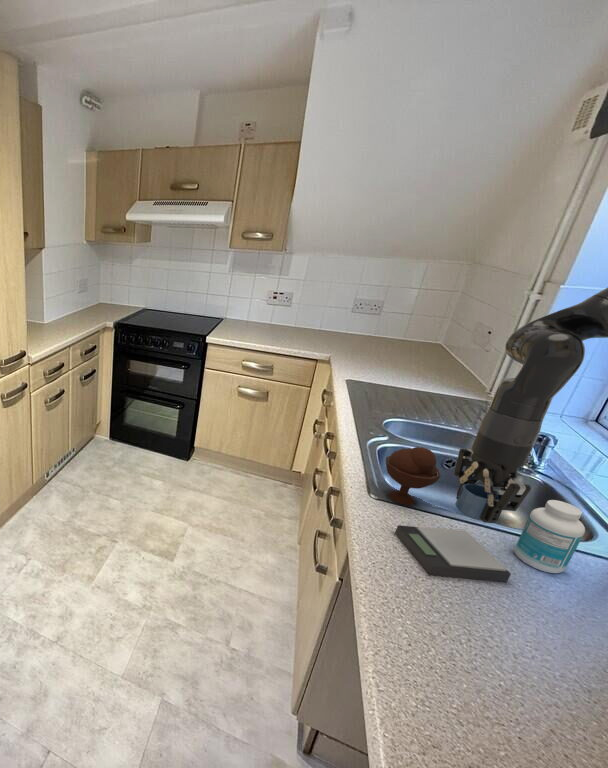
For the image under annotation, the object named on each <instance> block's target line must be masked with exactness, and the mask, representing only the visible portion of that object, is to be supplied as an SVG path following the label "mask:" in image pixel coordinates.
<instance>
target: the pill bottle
mask: <svg viewBox="0 0 608 768" xmlns="http://www.w3.org/2000/svg"><path fill="white" fill-rule="evenodd" d="M582 514H583V511H582V510H581V509H579V507H577V506H575V505H573V504H570V503H568V502H566V501H561V500H558V499H557V500H556V499H549V500H547V501H546V503H545V505H544V507H537V508H534V509H532V511H531V512H530V514H529V516H528V518H527V520H526V522H525V524H524V527H523V528H522V531H521V533H520V536H519V538H518V540H517V542H516V544H515V546H514V553H515V555H516V557H518V558H519V560H521V561H522V562H524V563H525V564H526V565H528V566H530V567H532V568H534V569H536V570H539V571H541V572H545V573H550V574H561V573H563V572H564V571H566V569H567V567H568V565H569V563H570V561H571V559H572V557H573V556H574V554H575V552H576V550H577V548H578V546H579V544H580V542H581V541H582V539H583V536H584V535H585V532H586V527H585V526H584V523H583V522H582V521H580V519H581V517H582V516H583V515H582Z"/></svg>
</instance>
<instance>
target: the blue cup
mask: <svg viewBox="0 0 608 768" xmlns="http://www.w3.org/2000/svg"><path fill="white" fill-rule="evenodd" d="M496 500H497V501H499V495H498V494H497V495H496ZM486 504H488V497H487V493H486V492H485V485H483V484H479V483H477V484H473V483H466V484H464V485H463V486H462V488H461V491H460V493H459V496H458V498H457V499H456V500H455V504H454V505H455V508H457V510H458V511H459V513H461V514H462V515H464V516H466V517H468V518H470V519H472V520H476V521H480V522H483V521H482V520H481V519H480V517H481V515H482V513H483V510H484V508H485V506H486Z"/></svg>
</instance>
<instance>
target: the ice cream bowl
mask: <svg viewBox="0 0 608 768" xmlns="http://www.w3.org/2000/svg"><path fill="white" fill-rule="evenodd" d="M385 467H386V471H387V474H388V476H389V477H390V478H391V479H392V480H393V481H395V482H396V483H398V484H399V485H400V488H399V490H391V491H389V492H388V497H389V498H390V499H391V500H392V501H394V502H396V503H398V504H401V505H405V506H412V505H415V504H416V503H415V498H414V497H413V496H412V495H410V494H409V492H410V489H424V488H427V487H429V486H432V485H434V484H435V483H436V482H438V481H439V480H440V478H441V473H440V470H439V469H438V468H437V458H436V454H435V453H434V452H433V451H432V450H431V449H429V448H427V447H423V446H415V447H413V448H410V447H409V448H401V449H397V450H395V451H393V452H392V453H391V454H390V455H389V456H385Z"/></svg>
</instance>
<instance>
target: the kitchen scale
mask: <svg viewBox="0 0 608 768" xmlns="http://www.w3.org/2000/svg"><path fill="white" fill-rule="evenodd" d="M394 534H395V535H396V536H397V538H398V539H399V540H400V541H401V542H402V543H403V545H404V546H405V548H406V549H407V550H408V551H409V552H410V554H411V555H412V556H413V557H414V559H416V560H417V562H418V563H420V565H421V566H422V568H423V569H424V571H426V573H427V574H428V575H429V576H435V577H436V576H437V577H446V578H447V577H448V578H458V579H467V580H468V579H469V580H478V581H489V582H496V583H497V582H498V583H508V581H509V579H510V577H511V575H512V573H511V572H510V571H509V570H508V569H507V567H505V566H504V565H503V564H502V563H501V562H500V561H499V560H498V559H497V558H495V556H493V554H492V553H490V552H489V550H487V549H486V548H485V547H484V546H483V545H482V544H481V543H480V542H478V541H477V539H475V537H473V536H472V535H471V534H470V533H469V532H468V531H467V530H463V529H450V528H439V527H430V526H429V527H428V526H427V527H426V526H412V525H411V526H410V525H397V526H396V529H395V532H394Z"/></svg>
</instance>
